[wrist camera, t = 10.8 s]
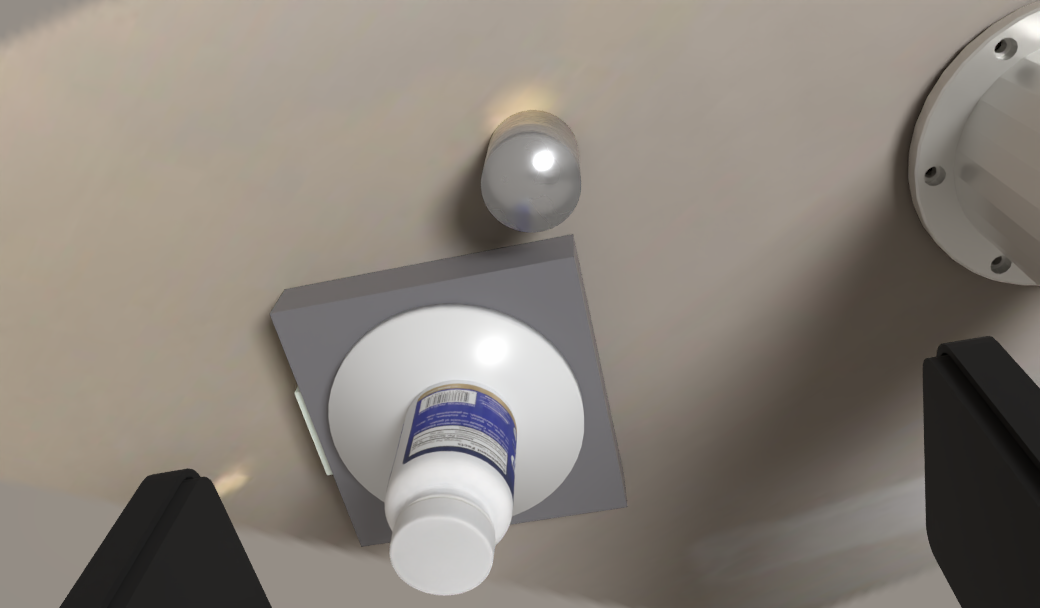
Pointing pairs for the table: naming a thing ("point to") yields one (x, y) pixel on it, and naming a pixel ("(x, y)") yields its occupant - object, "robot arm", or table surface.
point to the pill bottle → (451, 487)
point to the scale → (457, 372)
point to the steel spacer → (531, 172)
